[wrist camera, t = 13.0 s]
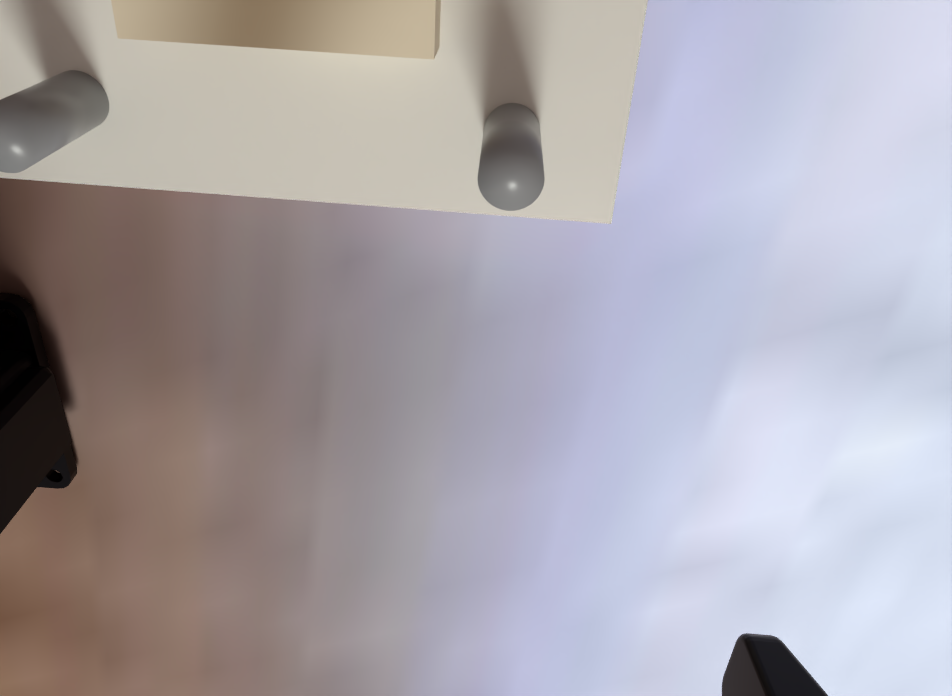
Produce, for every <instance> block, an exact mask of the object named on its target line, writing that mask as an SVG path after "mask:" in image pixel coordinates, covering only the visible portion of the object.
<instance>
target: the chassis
mask: <svg viewBox="0 0 952 696" xmlns="http://www.w3.org/2000/svg"><path fill="white" fill-rule="evenodd" d="M647 2H648V0H441V12H440V47H439V50H438V52H437V54H436V56H435V59H419V58H404V57H389V56H374V55H359V54H344V53H329V52H314V51H299V50H284V49H269V48H254V47H239V46H224V45H209V44H194V43H179V42H164V41H149V40H134V39H119V38H118V37H117V31H116V26H115V20H114V14H113V9H112V3H111V0H0V178H10V179H24V180H37V181H50V182H64V183H77V184H90V185H103V186H117V187H130V188H143V189H156V190H170V191H183V192H196V193H210V194H223V195H236V196H249V197H263V198H276V199H289V200H302V201H316V202H329V203H342V204H355V205H369V206H382V207H395V208H409V209H422V210H435V211H448V212H462V213H475V214H488V215H501V216H515V217H528V218H541V219H554V220H568V221H581V222H594V223H608V224H611V221H612V215H613V209H614V203H615V197H616V191H617V185H618V179H619V173H620V166H621V160H622V154H623V148H624V142H625V136H626V130H627V124H628V118H629V112H630V106H631V99H632V93H633V87H634V81H635V75H636V69H637V63H638V57H639V51H640V45H641V38H642V32H643V26H644V20H645V14H646V8H647Z"/></svg>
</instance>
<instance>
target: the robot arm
mask: <svg viewBox="0 0 952 696" xmlns="http://www.w3.org/2000/svg"><path fill="white" fill-rule="evenodd" d="M7 309H8V310H11V311H12V312H13V313H15V315H16V316H17V318H15V317H13V316H11V315H10V314H9V313H8V311H7ZM70 444H71V437H70V433H69V429H68V425H67V422H66V418H65V414H64V411H63V407H62V403H61V399H60V396H59V392H58V388H57V384H56V381H55V377H54V375H53V373H52V372H51V370H50V367H49V363H48V360H47V356H46V352H45V349H44V345H43V341H42V337H41V334H40V330H39V326H38V323H37V319H36V315H35V312H34V309H33V307H32V305H31V304H30V303H29V302H28V301H27V300H26V299H24V298H23V297H21V296H19V295H15V294H11V293H0V534H1V532H2V531H3V530H4V529H5V527H6V526H7V525H8V523H9V522H10V521H11V520H12V518H13V517H14V516H15V514H16V513H17V512H18V511H19V509H20V508H21V507H22V506H23V504H24V503H25V502H26V500H27V499H28V498H29V497H30V495H31V494H32V493H33V491H34V490H35V489H36V488H37V487H45V488H65V487H67V486H68V485H69V484H70V483H71V481H72V480H73V479H74V477H75V476H76V474H77V467H76V463H75V459H74V456H73V452H72V448H71V445H70ZM55 470H57V471H58V472H60V473H58V472H57V471H55ZM722 696H828V695H827V694H826V692H825V691H824V690H823V689H822V688H821V687H820V685H819V684H818V683H817V682H816V681H815V680H814V678H813V677H812V676H811V675H810V674H809V672H808V671H807V670H806V669H805V668H804V667H803V665H802V664H801V663H800V662H799V661H798V660H797V658H796V657H795V656H794V655H793V654H792V653H791V651H790V650H789V649H788V648H787V647H786V645H785V644H784V643H783V642H782V641H781V640H779V639H778V638H777V637H775V636H771V635H760V634H748V633H746V634H742V635H741V636H739V637H738V639H737V641H736V644H735V646H734V649H733V652H732V654H731V657H730V660H729V663H728V665H727V668H726V671H725V674H724V677H723V682H722Z"/></svg>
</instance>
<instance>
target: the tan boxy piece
mask: <svg viewBox="0 0 952 696" xmlns="http://www.w3.org/2000/svg"><path fill="white" fill-rule="evenodd" d="M111 3H112V9H113V14H114V20H115V26H116V31H117V37H118V38H119V39H134V40H149V41H164V42H179V43H194V44H209V45H224V46H239V47H254V48H269V49H284V50H299V51H314V52H329V53H344V54H359V55H374V56H389V57H404V58H419V59H435V56H436V54H437V52H438V50H439V47H440V12H441V0H111Z"/></svg>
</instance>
